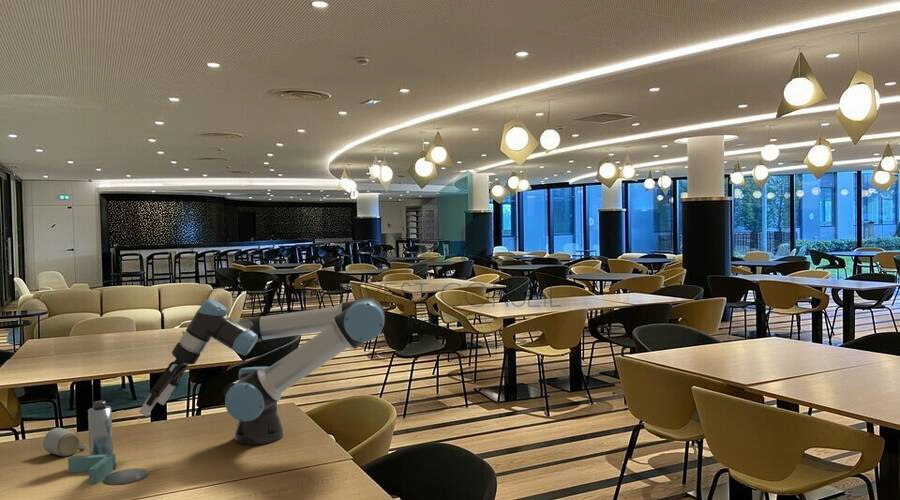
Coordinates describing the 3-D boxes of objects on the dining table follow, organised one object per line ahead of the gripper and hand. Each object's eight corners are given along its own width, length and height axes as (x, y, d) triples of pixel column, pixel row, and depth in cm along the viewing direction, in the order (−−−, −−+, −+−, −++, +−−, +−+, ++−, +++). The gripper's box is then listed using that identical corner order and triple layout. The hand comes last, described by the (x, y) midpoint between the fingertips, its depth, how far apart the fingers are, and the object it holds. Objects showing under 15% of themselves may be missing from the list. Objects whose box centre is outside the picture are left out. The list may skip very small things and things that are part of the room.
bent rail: (117, 467, 188) (116, 453, 188) (98, 483, 175) (97, 468, 175) (72, 469, 187) (71, 455, 186) (50, 486, 174) (49, 471, 174)
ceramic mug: (58, 460, 195) (57, 434, 195) (42, 456, 199) (42, 431, 199) (92, 450, 204) (92, 425, 204) (77, 446, 208) (76, 422, 208)
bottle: (116, 458, 195) (114, 398, 195) (107, 465, 189) (105, 404, 189) (95, 459, 194) (93, 399, 194) (86, 467, 188) (84, 405, 188)
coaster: (154, 468, 186) (154, 467, 186) (139, 483, 175) (139, 482, 175) (114, 470, 185) (113, 469, 185) (96, 485, 174) (96, 484, 174)
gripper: (191, 335, 209) (155, 392, 208) (164, 347, 184) (123, 412, 183) (212, 347, 210) (176, 404, 209) (188, 360, 185) (147, 425, 184)
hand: (151, 408), depth 196 cm, fingers open, 13 cm apart
